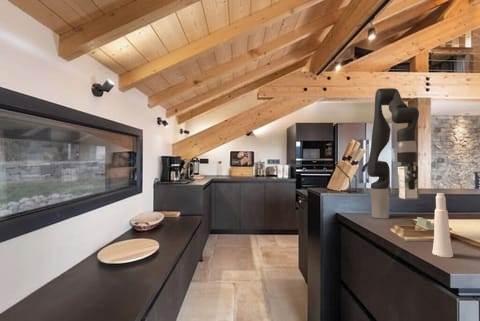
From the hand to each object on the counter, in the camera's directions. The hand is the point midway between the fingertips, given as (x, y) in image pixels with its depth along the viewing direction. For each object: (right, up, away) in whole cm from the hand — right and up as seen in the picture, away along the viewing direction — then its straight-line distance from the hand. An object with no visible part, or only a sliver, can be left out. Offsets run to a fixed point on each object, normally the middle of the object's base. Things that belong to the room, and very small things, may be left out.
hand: (408, 188), depth 118 cm
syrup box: (0, -5, 0) cm, 5 cm away
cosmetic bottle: (-3, -21, -24) cm, 32 cm away
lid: (+10, -17, -2) cm, 20 cm away
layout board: (+4, -21, 0) cm, 21 cm away
